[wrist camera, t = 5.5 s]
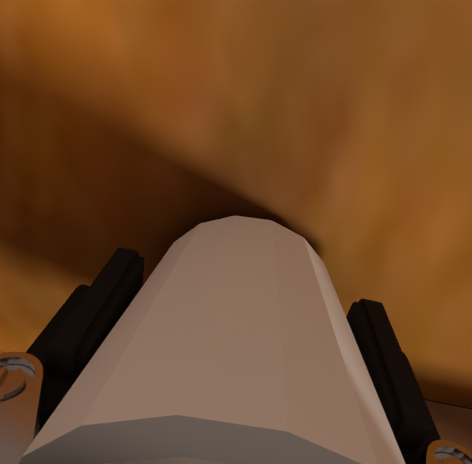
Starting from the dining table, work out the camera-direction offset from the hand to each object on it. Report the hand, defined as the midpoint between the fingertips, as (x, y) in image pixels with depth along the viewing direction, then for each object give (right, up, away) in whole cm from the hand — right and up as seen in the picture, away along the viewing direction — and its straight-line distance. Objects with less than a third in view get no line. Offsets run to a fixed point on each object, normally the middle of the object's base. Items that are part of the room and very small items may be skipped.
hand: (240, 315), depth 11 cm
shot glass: (0, +1, +1) cm, 1 cm away
